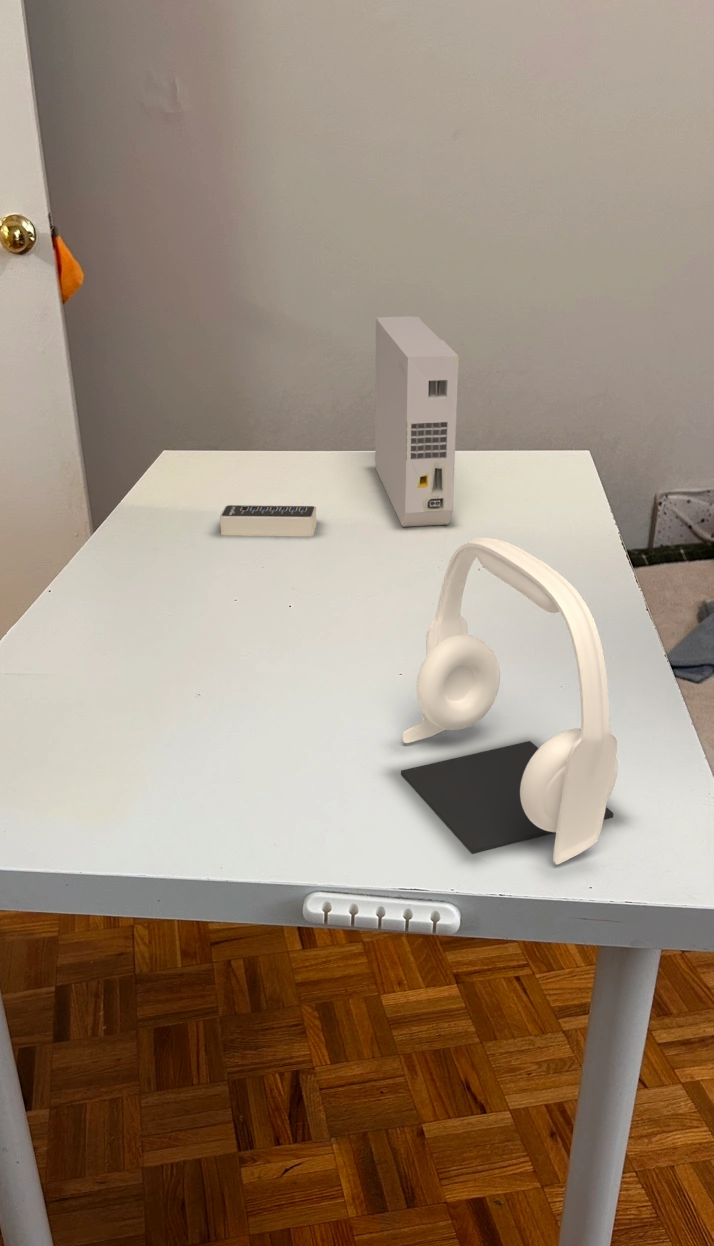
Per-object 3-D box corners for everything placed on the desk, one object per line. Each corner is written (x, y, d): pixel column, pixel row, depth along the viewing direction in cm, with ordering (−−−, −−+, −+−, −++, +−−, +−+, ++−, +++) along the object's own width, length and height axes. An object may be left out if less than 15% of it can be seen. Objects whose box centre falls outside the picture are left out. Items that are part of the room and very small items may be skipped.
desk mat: (529, 745, 85) (530, 740, 85) (613, 817, 76) (613, 813, 76) (400, 774, 82) (400, 770, 82) (472, 854, 73) (472, 849, 73)
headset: (628, 856, 72) (663, 601, 63) (533, 881, 70) (556, 621, 61) (478, 720, 88) (490, 503, 80) (397, 738, 86) (401, 517, 78)
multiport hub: (313, 536, 129) (312, 517, 128) (220, 535, 130) (219, 516, 129) (316, 524, 133) (316, 505, 132) (226, 523, 134) (225, 504, 133)
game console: (416, 466, 153) (420, 315, 144) (454, 531, 129) (461, 355, 120) (375, 468, 153) (375, 317, 143) (404, 534, 129) (407, 357, 119)
